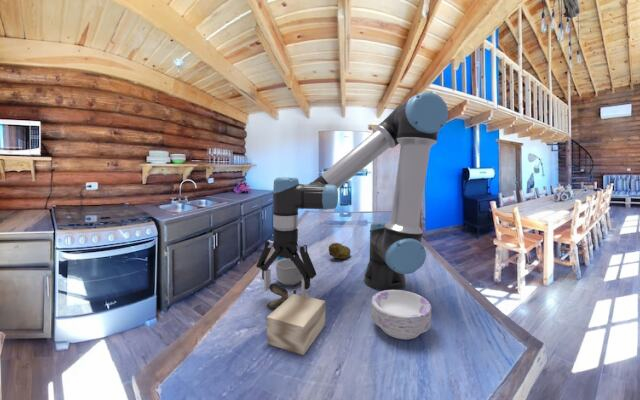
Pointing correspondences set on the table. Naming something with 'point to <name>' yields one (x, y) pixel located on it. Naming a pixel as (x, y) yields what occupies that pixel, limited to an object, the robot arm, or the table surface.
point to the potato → (339, 251)
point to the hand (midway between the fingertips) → (285, 293)
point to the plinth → (296, 323)
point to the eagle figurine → (281, 292)
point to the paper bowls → (401, 313)
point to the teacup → (288, 272)
